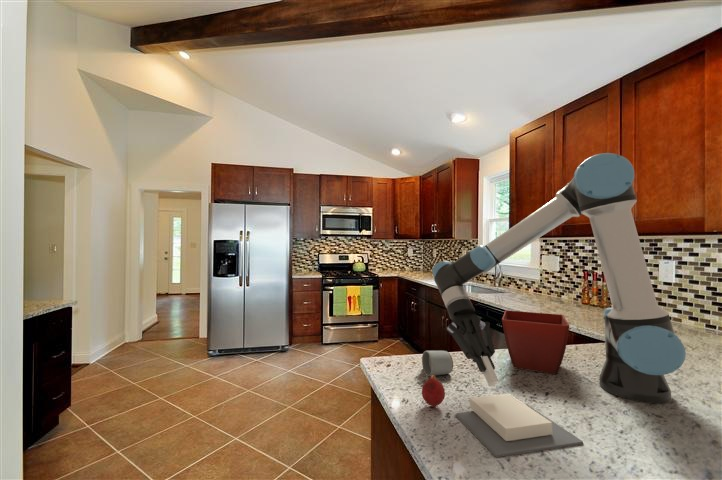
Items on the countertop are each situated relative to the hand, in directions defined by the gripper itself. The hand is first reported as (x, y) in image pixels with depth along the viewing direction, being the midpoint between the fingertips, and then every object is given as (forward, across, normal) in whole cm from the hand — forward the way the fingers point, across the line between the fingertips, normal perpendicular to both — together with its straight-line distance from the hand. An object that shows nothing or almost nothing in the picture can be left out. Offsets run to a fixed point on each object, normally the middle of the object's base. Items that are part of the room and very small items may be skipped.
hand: (493, 383), depth 77 cm
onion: (+1, +14, -9) cm, 16 cm away
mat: (+10, 0, 0) cm, 10 cm away
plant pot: (-12, -33, -23) cm, 42 cm away
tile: (+2, 0, -5) cm, 5 cm away
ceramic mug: (-14, +3, -24) cm, 28 cm away
